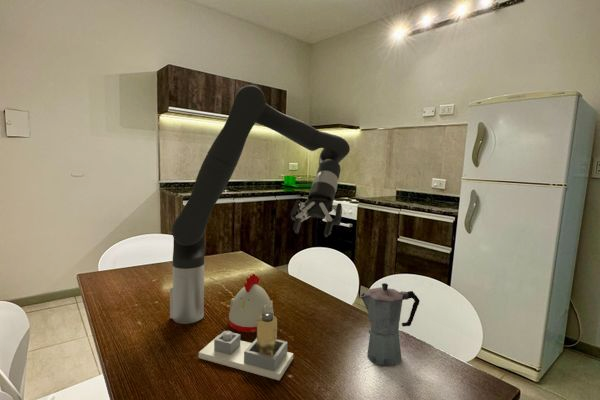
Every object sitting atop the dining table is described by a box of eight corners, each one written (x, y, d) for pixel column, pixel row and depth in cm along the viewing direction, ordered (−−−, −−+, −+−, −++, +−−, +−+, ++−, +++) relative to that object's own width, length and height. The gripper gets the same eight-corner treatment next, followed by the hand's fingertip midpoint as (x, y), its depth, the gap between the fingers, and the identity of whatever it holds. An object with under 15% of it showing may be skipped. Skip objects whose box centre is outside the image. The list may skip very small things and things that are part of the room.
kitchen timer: (219, 326, 98) (220, 278, 97) (243, 307, 111) (244, 265, 109) (261, 336, 93) (262, 286, 92) (280, 316, 106) (282, 271, 105)
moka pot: (352, 346, 90) (356, 276, 88) (405, 346, 92) (411, 277, 89) (361, 368, 81) (366, 290, 78) (421, 367, 82) (428, 291, 80)
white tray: (198, 357, 82) (198, 337, 81) (218, 340, 91) (219, 321, 90) (279, 380, 75) (280, 358, 74) (293, 358, 83) (293, 338, 83)
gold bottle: (252, 360, 79) (254, 316, 78) (261, 350, 84) (262, 308, 83) (270, 365, 78) (272, 320, 77) (278, 354, 82) (280, 312, 81)
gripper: (299, 179, 98) (283, 223, 89) (345, 182, 94) (334, 228, 84) (303, 195, 104) (289, 238, 94) (348, 198, 99) (337, 244, 90)
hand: (310, 233), depth 89 cm, fingers open, 8 cm apart
